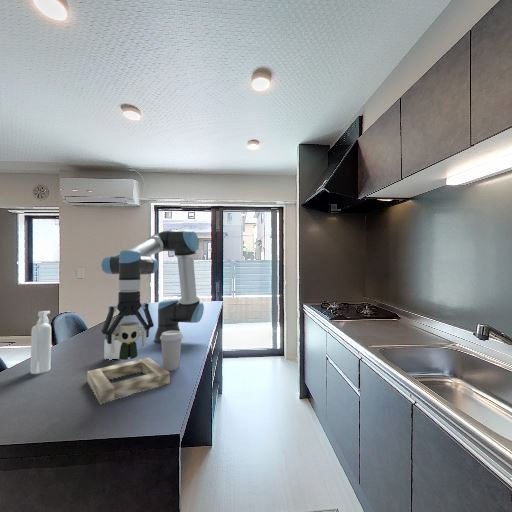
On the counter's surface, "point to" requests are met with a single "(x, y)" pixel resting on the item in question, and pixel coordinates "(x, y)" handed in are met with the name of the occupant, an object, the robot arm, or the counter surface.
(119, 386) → the well block
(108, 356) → the jar
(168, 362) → the coffee cup
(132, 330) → the character mug
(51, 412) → the counter surface
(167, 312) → the robot arm
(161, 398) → the counter surface
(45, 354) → the white pump bottle
